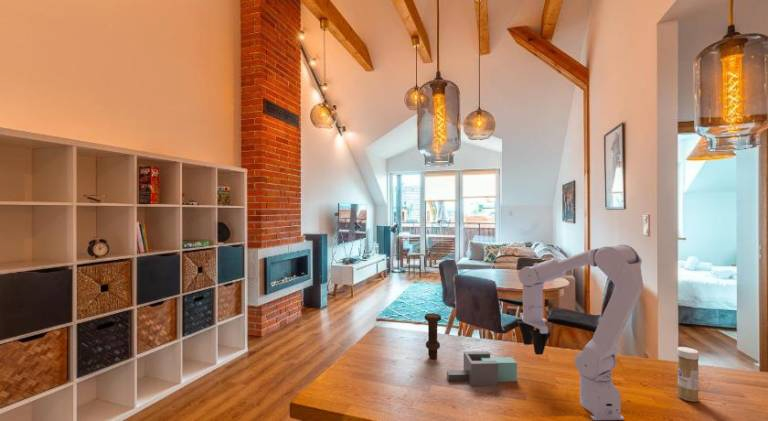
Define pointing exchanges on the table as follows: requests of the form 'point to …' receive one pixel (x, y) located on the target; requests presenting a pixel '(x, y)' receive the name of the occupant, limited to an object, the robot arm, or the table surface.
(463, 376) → the header
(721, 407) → the table surface
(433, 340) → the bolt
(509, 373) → the plug
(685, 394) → the sprinkles bottle
